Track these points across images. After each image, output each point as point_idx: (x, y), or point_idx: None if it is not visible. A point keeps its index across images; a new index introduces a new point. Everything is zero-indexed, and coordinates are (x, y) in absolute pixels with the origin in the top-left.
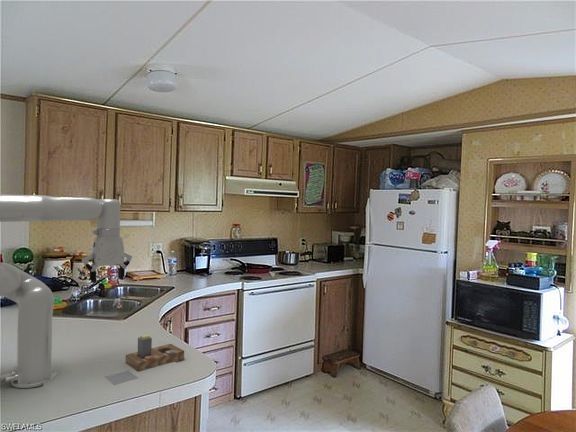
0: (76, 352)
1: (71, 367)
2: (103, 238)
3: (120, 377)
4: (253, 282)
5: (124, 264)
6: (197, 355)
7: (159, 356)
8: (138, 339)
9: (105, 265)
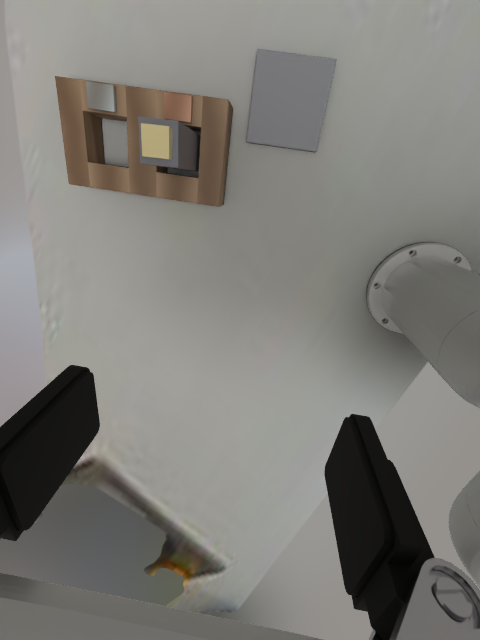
0: (263, 367)
1: (320, 295)
2: None
3: (291, 104)
4: None
5: None
6: (24, 92)
7: (146, 97)
8: (179, 161)
9: (275, 637)
